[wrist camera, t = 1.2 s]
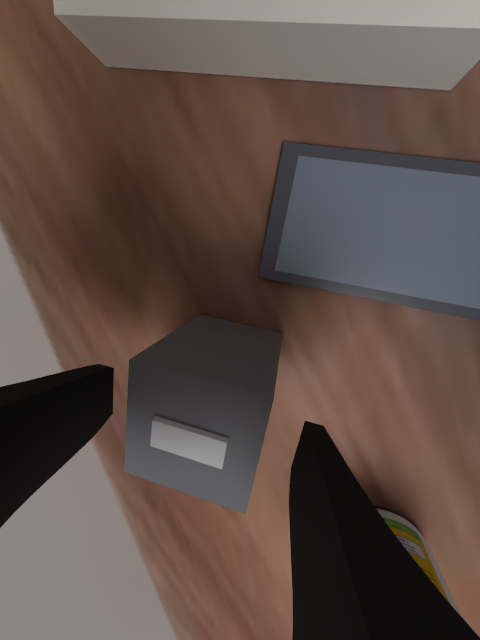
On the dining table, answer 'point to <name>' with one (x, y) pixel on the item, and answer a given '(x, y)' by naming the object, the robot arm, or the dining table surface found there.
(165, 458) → the block
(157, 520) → the dining table surface
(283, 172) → the phone slab
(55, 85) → the dining table surface
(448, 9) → the outlet plate
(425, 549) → the supplement bottle
